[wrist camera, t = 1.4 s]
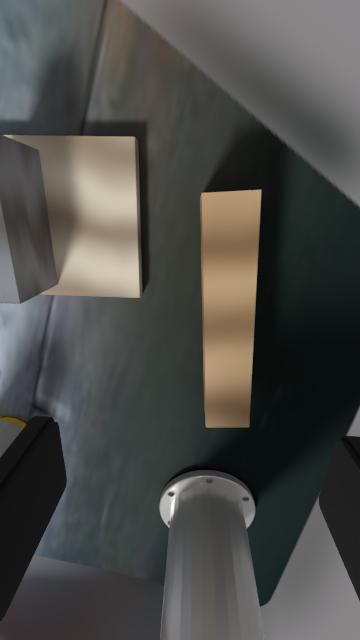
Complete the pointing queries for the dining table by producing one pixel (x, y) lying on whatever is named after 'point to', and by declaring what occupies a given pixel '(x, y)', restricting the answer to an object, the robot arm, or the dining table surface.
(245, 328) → the oak beam
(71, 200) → the ridge stand
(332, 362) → the dining table surface
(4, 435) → the soap bottle
